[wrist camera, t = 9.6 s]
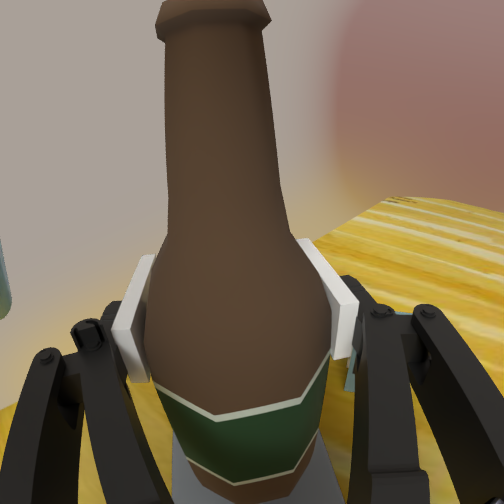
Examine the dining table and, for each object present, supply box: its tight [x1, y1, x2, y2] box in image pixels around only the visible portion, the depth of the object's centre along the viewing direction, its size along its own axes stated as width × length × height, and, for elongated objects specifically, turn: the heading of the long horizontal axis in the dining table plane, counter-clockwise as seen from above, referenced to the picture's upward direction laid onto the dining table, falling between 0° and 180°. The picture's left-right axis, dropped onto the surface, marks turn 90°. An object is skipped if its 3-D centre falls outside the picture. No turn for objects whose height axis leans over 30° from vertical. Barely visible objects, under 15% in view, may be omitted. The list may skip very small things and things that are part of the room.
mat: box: [172, 428, 345, 504], centre depth 19 cm, size 12×12×1 cm
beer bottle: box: [144, 0, 332, 504], centre depth 12 cm, size 8×8×24 cm
